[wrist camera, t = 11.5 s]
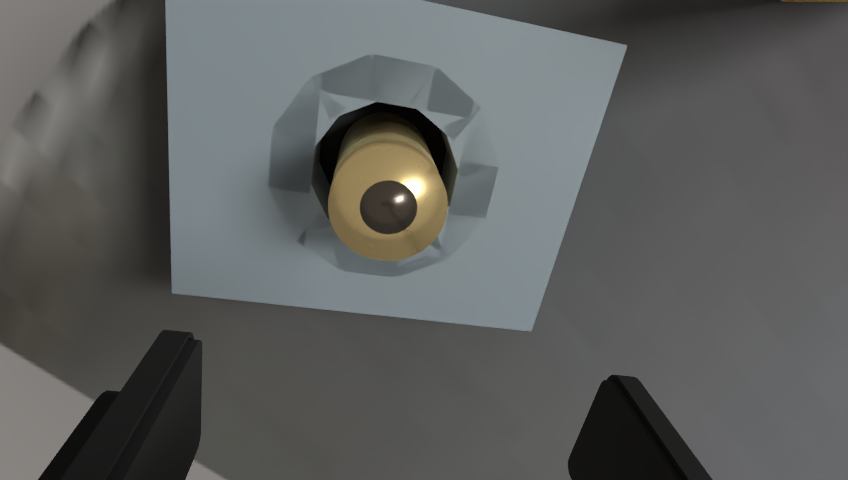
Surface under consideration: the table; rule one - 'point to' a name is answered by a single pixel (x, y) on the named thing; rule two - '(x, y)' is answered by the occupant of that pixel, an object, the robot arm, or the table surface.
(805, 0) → the candy box
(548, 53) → the plate
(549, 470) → the table surface
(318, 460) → the table surface
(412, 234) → the bushing
